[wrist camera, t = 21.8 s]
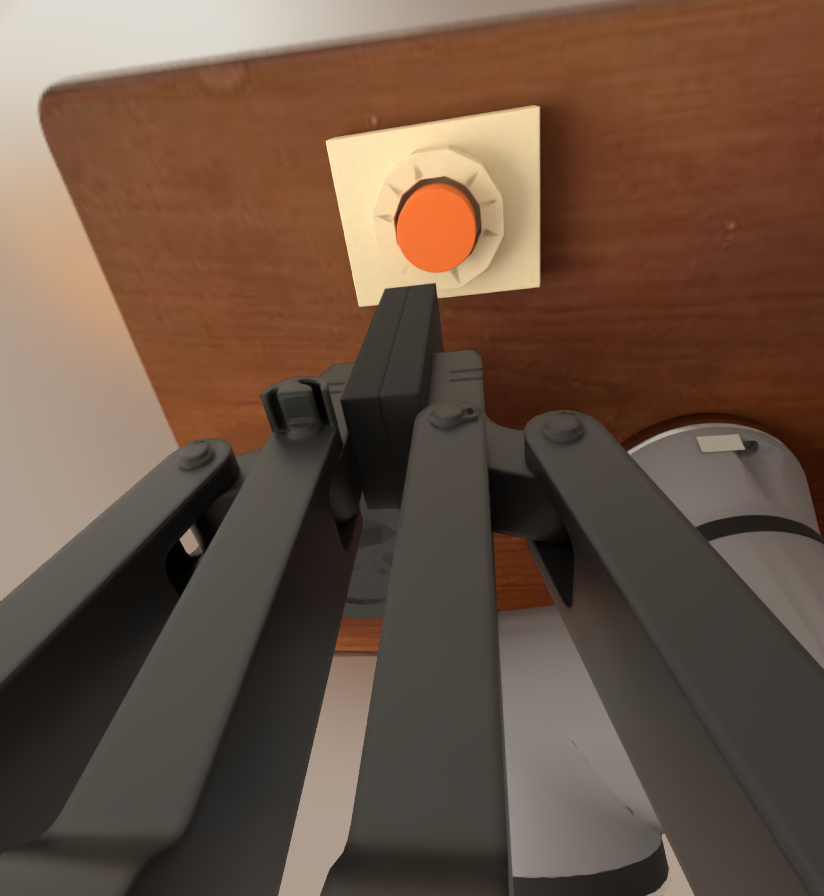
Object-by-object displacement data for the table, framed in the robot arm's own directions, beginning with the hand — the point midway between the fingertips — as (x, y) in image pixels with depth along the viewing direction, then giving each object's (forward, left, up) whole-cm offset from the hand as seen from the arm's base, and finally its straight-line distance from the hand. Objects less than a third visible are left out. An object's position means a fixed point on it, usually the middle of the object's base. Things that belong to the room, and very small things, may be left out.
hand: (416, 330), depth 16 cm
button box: (0, 0, -18) cm, 18 cm away
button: (0, 0, -15) cm, 15 cm away
